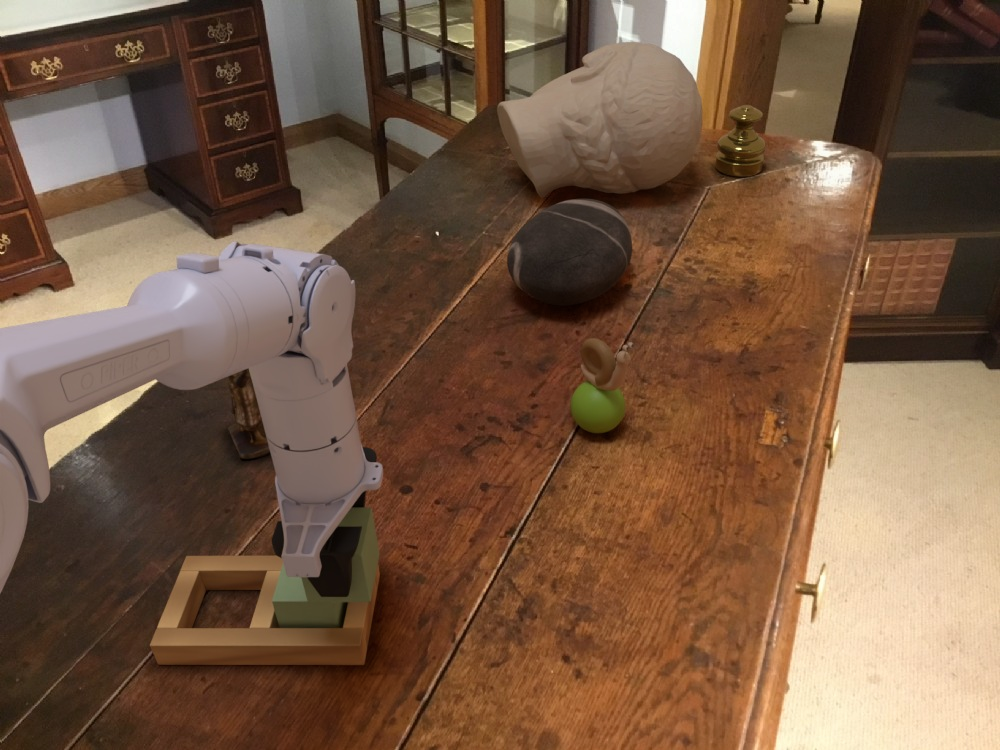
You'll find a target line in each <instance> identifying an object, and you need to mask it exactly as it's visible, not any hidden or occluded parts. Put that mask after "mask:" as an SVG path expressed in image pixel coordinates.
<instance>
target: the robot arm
mask: <svg viewBox="0 0 1000 750" xmlns="http://www.w3.org/2000/svg"><path fill="white" fill-rule="evenodd" d="M349 275H350V274H349V273H348V271H347V270H346V269H345V268H344V267H342V266H341V265H339V263H338V261H337V259H333V256H331V255H329V254H326V253H325V254H324V253H317V252H311V251H305V250H298V249H291V248H286V247H285V248H284V247H279V246H272V245H267V244H259V243H249V244H248V243H240V242H239V241H236V240H235V241H232V242H230V244H228V245H227V246H226V247H225V248H223V250H222V251H221V252H220V253H219V254H218V256H216V255H212V254H211V255H210V254H203V253H197V252H190V253H189V252H188V253H183V254H178V256H177V257H176V268H173V269H170V270H169V269H168V270H166V271H160V272H155V273H153V274H151V275H149V276H147V277H146V278H144V279H142V281H141V282H140V283H138V284H137V286H136V287H135V288H134V290H133V292H132V293H131V295H130V297H129V299H128V301H127V303H126V306H118V307H115V308H114V307H113V308H107V309H103V310H97V311H91V312H86V313H79V314H74V315H68V316H61V317H56V318H51V319H45V320H39V321H35V322H28V323H22V324H17V325H16V324H15V325H11V326H5V327H0V595H1V593H2V592H3V589H4V587H5V585H6V583H7V580H8V578H9V576H10V574H11V572H12V569H13V567H14V564H15V562H16V559H17V557H18V555H19V552H20V549H21V546H22V543H23V540H24V537H25V532H26V529H27V525H28V519H29V518H28V517H29V501H32V502H35V503H39V504H43V503H44V502H45V500H46V499H47V498H48V497H49V495H50V492H51V473H50V465H49V459H48V455H47V450H46V442H45V434H46V432H47V431H48V430H50V429H52V428H55V427H57V426H59V425H61V424H63V423H65V422H68V421H69V420H72V419H74V418H75V417H78V416H80V415H83V414H84V413H87V412H89V411H91V410H93V409H95V408H97V407H99V406H102V405H104V404H106V403H108V402H111V401H113V400H115V399H116V398H119V397H121V396H123V395H125V394H127V393H130V392H132V391H134V390H136V389H138V388H141V387H143V386H145V385H147V384H149V383H151V382H153V381H157V382H159V383H160V384H162V385H164V386H165V387H168V388H171V389H175V390H179V391H191V390H198V389H200V388H203V387H206V386H207V385H210V384H213V383H215V382H218V381H220V380H223V379H225V378H228V376H230V375H233V374H235V373H238V372H240V371H243V370H245V369H248V368H249V372H250V375H251V379H252V383H253V387H254V391H255V394H256V398H257V402H258V406H259V410H260V414H261V418H262V421H263V425H264V429H265V433H266V437H267V441H268V445H269V449H270V453H271V454H270V456H271V460H272V464H273V469H274V472H275V478H274V482H275V483H274V486H275V490H276V498H277V502H278V508H279V514H280V519H281V520H278V521H276V524H275V528H274V531H273V534H272V537H271V545H272V550H273V553H274V555H277V556H278V557H280V558H282V560H283V564H284V568H285V571H286V575H287V577H307V578H308V580H309V581H310V583H311V584H312V585H313V587H314V588H315V589H316V591H317V592H318V593H319V595H320V596H321V597H347V596H349V592H350V587H351V581H352V557H353V556H354V554H355V552H356V549H357V546H358V543H359V539H360V534H361V530H362V526H338V525H339V523H340V522H341V521H342V519H343V518H344V517H345V515H346V514H347V513H348V511H349V510H350V509H351V507H366V497H367V491H376V490H378V489H381V486H382V484H383V479H384V468H383V464H382V463H380V462H378V461H377V460H378V457H377V453H376V450H374V449H373V448H371V447H367V446H363V445H362V441H361V438H360V431H359V423H358V422H359V421H358V417H357V410H356V405H355V403H354V396H353V391H352V385H351V379H350V373H349V368H348V363H349V362H350V361H351V359H352V358H353V349H354V342H353V335H352V325H353V319H354V313H355V308H356V282H355V280H354V279H352V280H351V277H350V276H349ZM0 750H2V748H0Z"/></svg>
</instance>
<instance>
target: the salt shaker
mask: <svg viewBox="0 0 1000 750" xmlns="http://www.w3.org/2000/svg"><path fill="white" fill-rule="evenodd" d="M763 115H764V113H763V111H761V110H760V109H758V108H757V107H754V106H752V105H751V104H743V105H740V106H737V107H735V108H732V109H731V110H730V111H729V113H728V116H729V118H730V119H731V120H732V121H733V122H734V124H735V126H734V127H733V128H732V129H731V130H729V131H728V132H727V133H725V134H723V135H722V136H720V137H719V139H718V140H717V150H718V151H717V152H716V153H715V164H714V167H715V169H716V170H717V171H718V172H720V173H721V174H723V175H726V176H729V177H730V176H731V177H738V178H746V177H752V176H755V175H757V174H759V173H760V172H761V171H762V170H763V167H764V166H763V165H764V160H765V155H764V153H765V151H766V148H767V142H766V140H765V139H764V138H763V137H761V136H760V135H759V133H758V132H757V131H756V130H755V129H754V126H755V124H756V123H758V122H759V121H761V120H762V119H763V117H764V116H763Z"/></svg>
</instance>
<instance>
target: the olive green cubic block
mask: <svg viewBox="0 0 1000 750" xmlns="http://www.w3.org/2000/svg"><path fill="white" fill-rule="evenodd" d="M338 526H362V530H361V534H360V539H359V543H358V546H357V549H356V552H355V554H354V556H353V557H352V581H351V587H350V592H349V596H347V597H321V596H320V595H319V593H318V592H317V591H316V589H315V588H314V587H313V585H312V584H311V583H310V581H309V580H308V578H307V577H301V579H302V582H303V586H304V590H305V594H306V598H307V602H371V597H372V592H373V587H374V582H375V576H376V571H377V566H379V561H380V556H381V555H380V554H381V553H380V548H379V542H378V536H377V531H376V524H375V518H374V513H373V507H366V506H365V507H351V509H350V510H349V511H348V513H347V514H346V515H345V517H344V518H343V519H342V521H341V522H340V523H339V525H338Z"/></svg>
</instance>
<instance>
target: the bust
mask: <svg viewBox="0 0 1000 750" xmlns="http://www.w3.org/2000/svg"><path fill="white" fill-rule="evenodd" d="M581 62H582V64H583V66H581V67H579V68H576V69H574V70H572V71H570V72H569V71H568V73H565V74H563V75H560V76H559V77H557V78H555V79H553V80H551V81H549V82H548V83H546V84H545V85H543V86H542V87H540V88H539V89H537V90H536V91H534V92H533V93H532V94H531V95H530V96H528V97H525V98H519V99H511V100H504V101H500V102H499V103H498V105H497V107H496V112H497V117H498V121H499V125H500V129H501V132H502V135H503V137H504V139H505V142H506V143H507V146H508V148H509V150H510V153H511V155H512V157H513V159H514V160H515V162H516V164H517V166H518V167H519V169H520V170H522V172H523V173H524V175H526V177H527V178H528V179H529V180H530V181H531V183H532V184H533V186H534V188H535V191H536V193H537V195H538V196H539V197H540V198H541V199H544V198H545V197H546V196H547V195H548V194H550V193H551V192H552V191H554V190H558V189H560V188H565V187H571V186H573V187H577V188H582V189H591V190H594V191H599V192H603V193H606V194H619V195H622V194H629V193H636V192H639V191H640V190H651V189H654V188H658V187H659V186H661V185H663V184H665V183H667V182H669V181H671V180H673V179H674V178H676V177H677V176H678V175H680V173H681V172H682V171H683V170H684V168H685V167H686V166H687V165H688V164H689V163H690V162H691V161H692V159H693V158H694V155H695V153H696V149H697V147H698V145H699V143H700V141H701V137H702V130H703V113H704V112H703V110H704V109H703V102H702V96H701V94H700V91H699V89H698V84H697V81H696V78H695V77H694V75H693V74H692V72H691V71H690V70H689V69H688V68H687V66H686V65H685V63H684V62H683V61H682V60H681V59H680V57H678V56H676V55H675V54H673V53H671V52H669V51H667V50H665V49H663V48H662V47H660V46H659V45H655V44H652V43H642V42H637V41H624V42H622V41H621V42H617V43H616V42H615V43H611V44H607V45H603V46H601V47H599V48H597V49H595V50H593V51H591V52H588V53H586V54H585V55H584V56H582V59H581Z"/></svg>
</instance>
